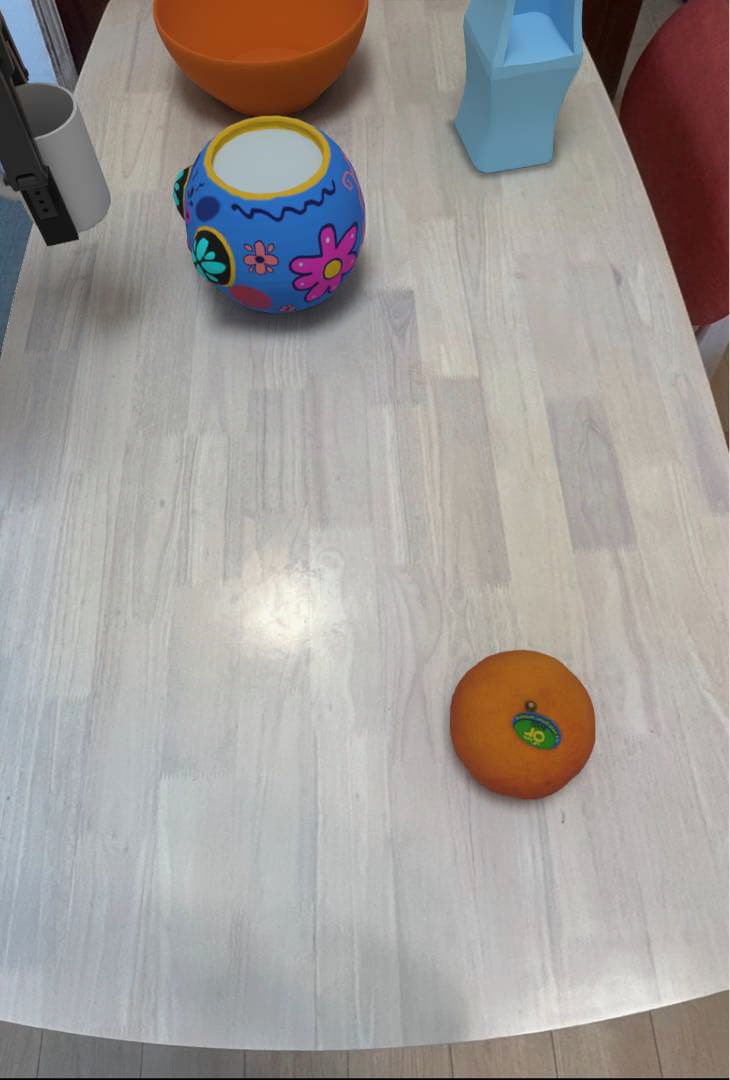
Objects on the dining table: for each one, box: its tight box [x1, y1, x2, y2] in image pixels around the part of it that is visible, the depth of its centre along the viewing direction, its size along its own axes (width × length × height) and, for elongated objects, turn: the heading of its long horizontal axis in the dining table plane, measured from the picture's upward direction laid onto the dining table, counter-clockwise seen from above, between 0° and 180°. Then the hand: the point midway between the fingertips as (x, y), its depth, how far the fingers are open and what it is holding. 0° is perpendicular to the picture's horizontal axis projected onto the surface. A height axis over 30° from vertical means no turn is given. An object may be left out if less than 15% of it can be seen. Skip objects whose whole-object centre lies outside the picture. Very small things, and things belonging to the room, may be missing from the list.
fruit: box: [449, 649, 597, 801], centre depth 55 cm, size 11×10×8 cm
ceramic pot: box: [172, 116, 367, 314], centre depth 74 cm, size 18×18×15 cm
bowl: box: [152, 0, 369, 117], centre depth 92 cm, size 25×25×10 cm
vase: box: [453, 0, 584, 174], centre depth 79 cm, size 10×10×25 cm
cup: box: [0, 81, 112, 234], centre depth 62 cm, size 7×10×9 cm
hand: (57, 209), depth 66 cm, fingers closed on cup, 7 cm apart
